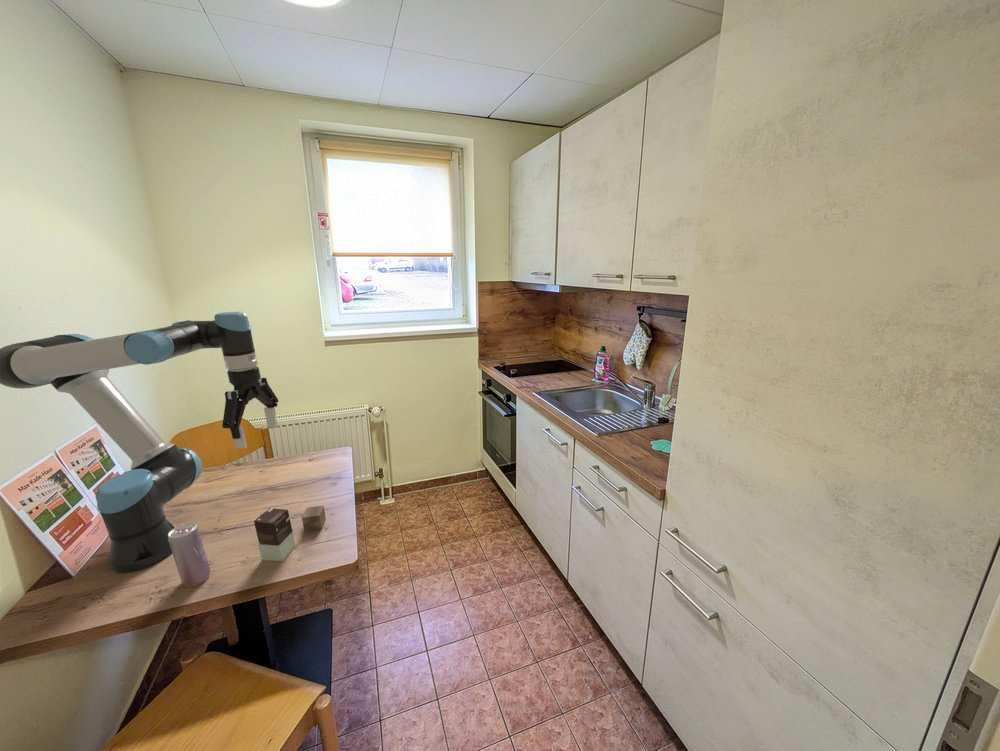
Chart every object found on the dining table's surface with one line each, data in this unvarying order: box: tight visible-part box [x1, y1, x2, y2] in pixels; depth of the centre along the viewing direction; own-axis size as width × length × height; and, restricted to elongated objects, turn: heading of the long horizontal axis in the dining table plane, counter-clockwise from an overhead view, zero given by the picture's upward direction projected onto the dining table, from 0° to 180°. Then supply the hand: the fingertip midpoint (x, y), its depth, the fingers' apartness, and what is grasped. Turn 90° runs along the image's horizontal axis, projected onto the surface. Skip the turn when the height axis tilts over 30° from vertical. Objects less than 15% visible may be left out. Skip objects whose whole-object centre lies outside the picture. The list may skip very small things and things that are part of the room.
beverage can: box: [168, 522, 211, 588], centre depth 98 cm, size 6×6×15 cm
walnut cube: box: [301, 505, 327, 532], centre depth 119 cm, size 5×5×5 cm
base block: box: [258, 530, 296, 562], centre depth 108 cm, size 6×6×5 cm
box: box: [253, 507, 293, 546], centre depth 107 cm, size 6×6×7 cm
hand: (258, 437), depth 115 cm, fingers open, 13 cm apart
